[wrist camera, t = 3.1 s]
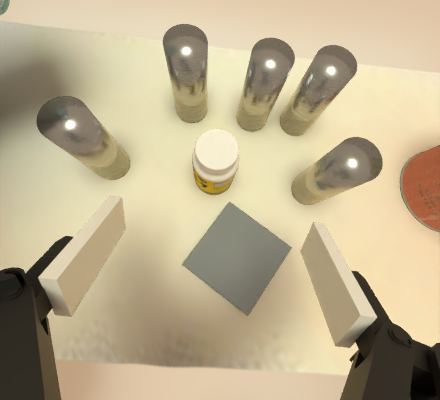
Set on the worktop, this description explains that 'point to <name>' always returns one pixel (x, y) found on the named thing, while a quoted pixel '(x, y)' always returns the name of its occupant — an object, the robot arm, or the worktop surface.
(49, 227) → the worktop surface
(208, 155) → the supplement bottle
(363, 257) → the worktop surface
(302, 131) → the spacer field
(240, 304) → the mat
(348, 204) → the worktop surface
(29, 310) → the robot arm
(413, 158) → the canned food
